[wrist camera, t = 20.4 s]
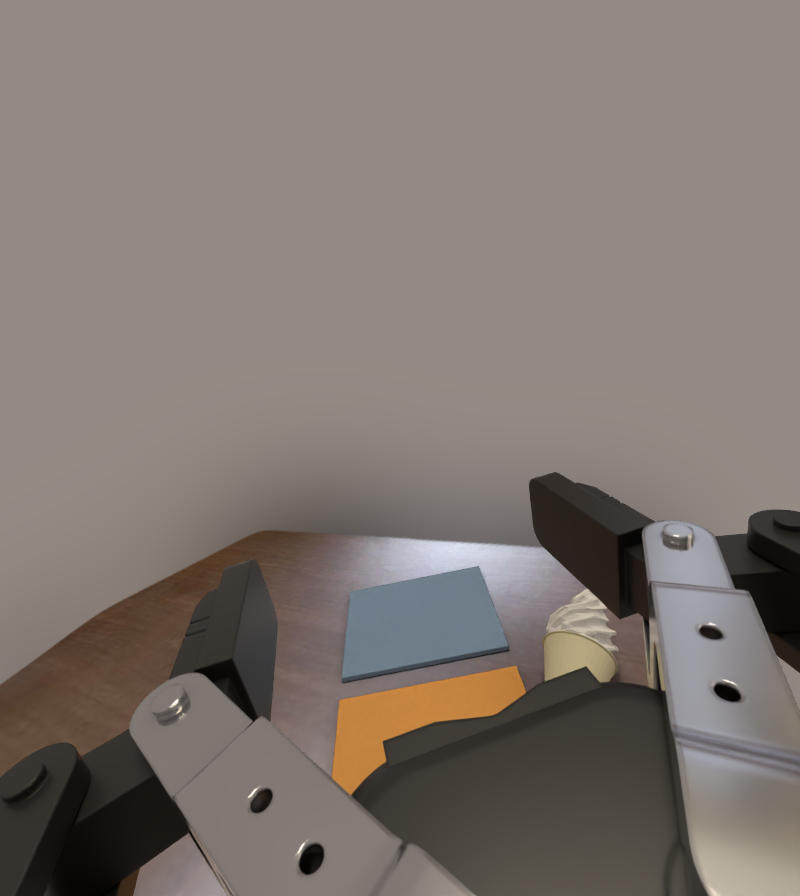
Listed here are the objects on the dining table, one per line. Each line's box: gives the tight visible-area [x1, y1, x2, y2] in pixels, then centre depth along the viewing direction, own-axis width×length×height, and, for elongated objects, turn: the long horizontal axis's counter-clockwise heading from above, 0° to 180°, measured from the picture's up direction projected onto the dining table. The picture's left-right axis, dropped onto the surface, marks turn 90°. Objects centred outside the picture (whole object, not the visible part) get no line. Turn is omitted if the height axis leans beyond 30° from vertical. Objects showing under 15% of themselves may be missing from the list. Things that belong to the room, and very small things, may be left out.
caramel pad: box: [332, 666, 527, 795], centre depth 28 cm, size 14×11×1 cm
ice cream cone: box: [542, 588, 619, 682], centre depth 30 cm, size 5×5×15 cm
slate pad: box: [342, 566, 509, 682], centre depth 40 cm, size 14×11×1 cm
